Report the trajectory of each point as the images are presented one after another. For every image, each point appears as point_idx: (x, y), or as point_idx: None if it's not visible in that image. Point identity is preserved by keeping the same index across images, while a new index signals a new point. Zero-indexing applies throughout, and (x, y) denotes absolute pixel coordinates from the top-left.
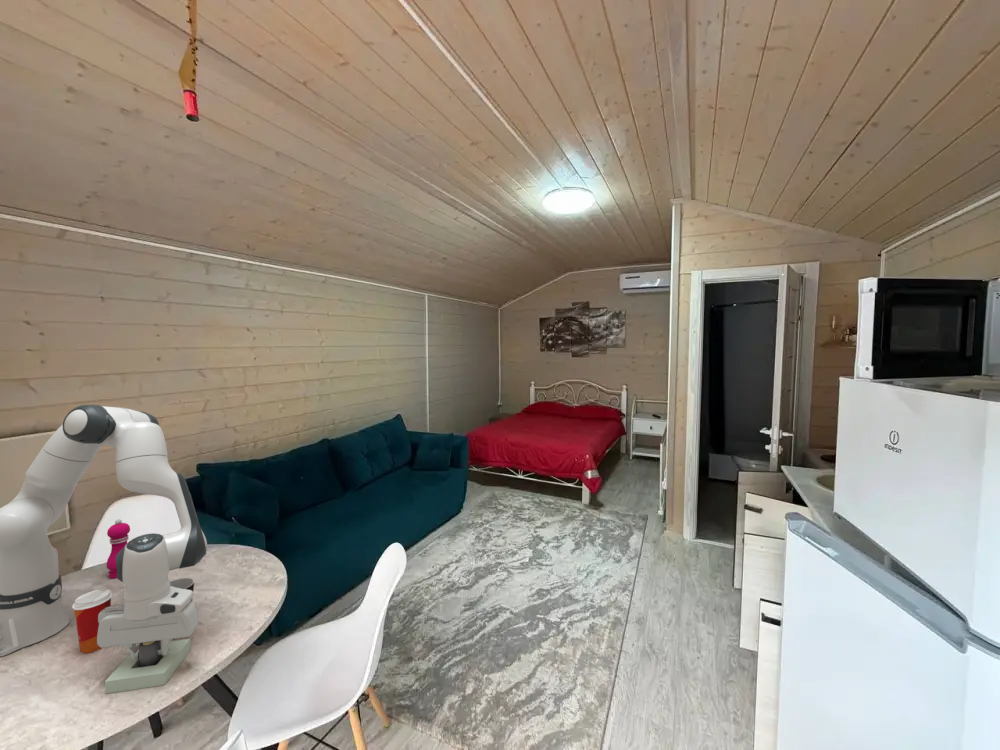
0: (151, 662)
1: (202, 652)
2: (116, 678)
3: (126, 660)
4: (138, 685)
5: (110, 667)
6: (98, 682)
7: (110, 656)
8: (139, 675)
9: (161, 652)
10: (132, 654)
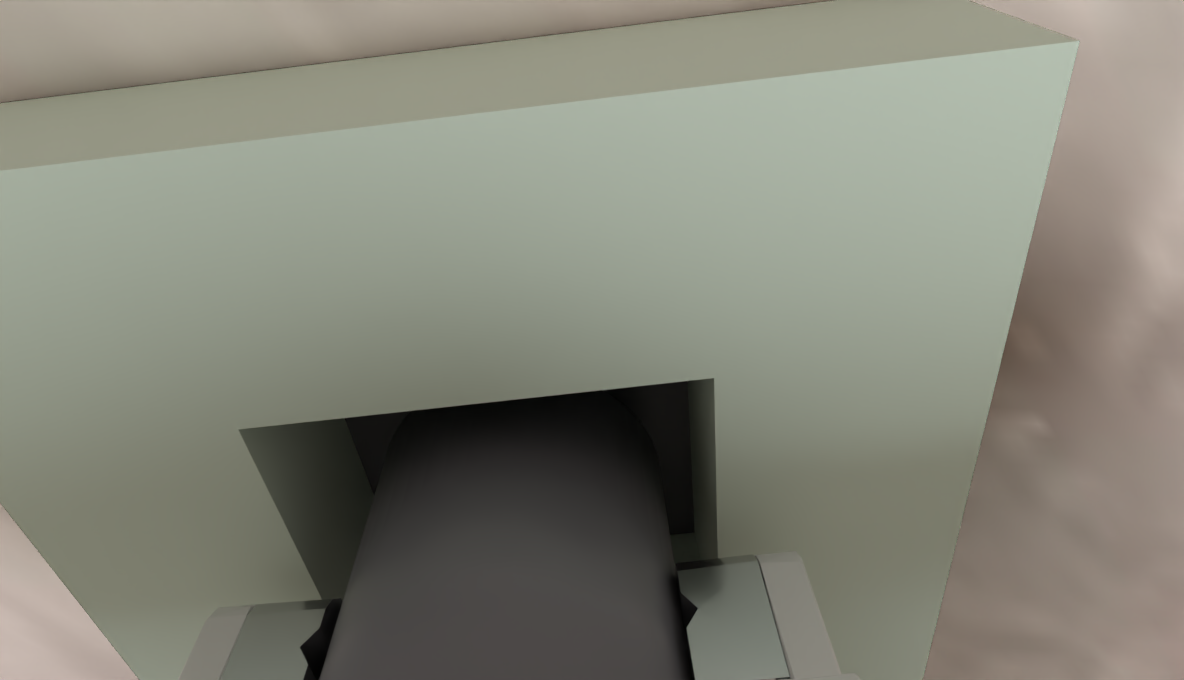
0: (398, 486)
1: (91, 622)
2: (839, 124)
3: (914, 550)
4: (375, 68)
5: (1103, 490)
6: (1157, 264)
7: (1170, 620)
8: (332, 170)
9: (229, 666)
10: (809, 653)
